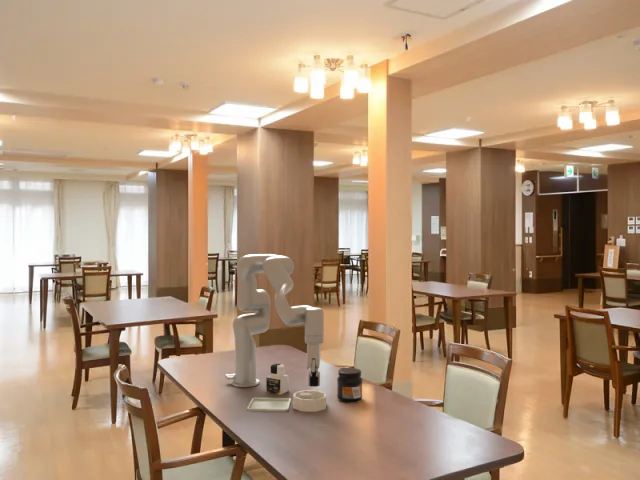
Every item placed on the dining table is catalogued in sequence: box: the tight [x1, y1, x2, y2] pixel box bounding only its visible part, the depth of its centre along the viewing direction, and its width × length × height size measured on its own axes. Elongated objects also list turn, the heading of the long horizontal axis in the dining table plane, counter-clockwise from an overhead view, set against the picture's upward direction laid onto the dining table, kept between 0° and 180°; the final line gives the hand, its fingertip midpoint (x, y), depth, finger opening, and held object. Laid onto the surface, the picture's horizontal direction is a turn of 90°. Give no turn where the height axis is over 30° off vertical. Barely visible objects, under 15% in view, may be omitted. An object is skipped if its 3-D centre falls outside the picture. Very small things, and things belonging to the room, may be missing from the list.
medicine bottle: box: [265, 363, 290, 396], centre depth 236 cm, size 7×7×12 cm
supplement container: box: [336, 367, 363, 403], centre depth 227 cm, size 10×10×12 cm
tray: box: [246, 397, 292, 413], centre depth 217 cm, size 16×14×1 cm
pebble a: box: [300, 393, 311, 399], centre depth 215 cm, size 4×4×5 cm
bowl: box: [292, 389, 327, 413], centre depth 217 cm, size 13×13×5 cm
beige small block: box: [308, 371, 321, 387], centre depth 218 cm, size 4×4×5 cm
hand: (314, 384), depth 218 cm, fingers closed on beige small block, 3 cm apart
